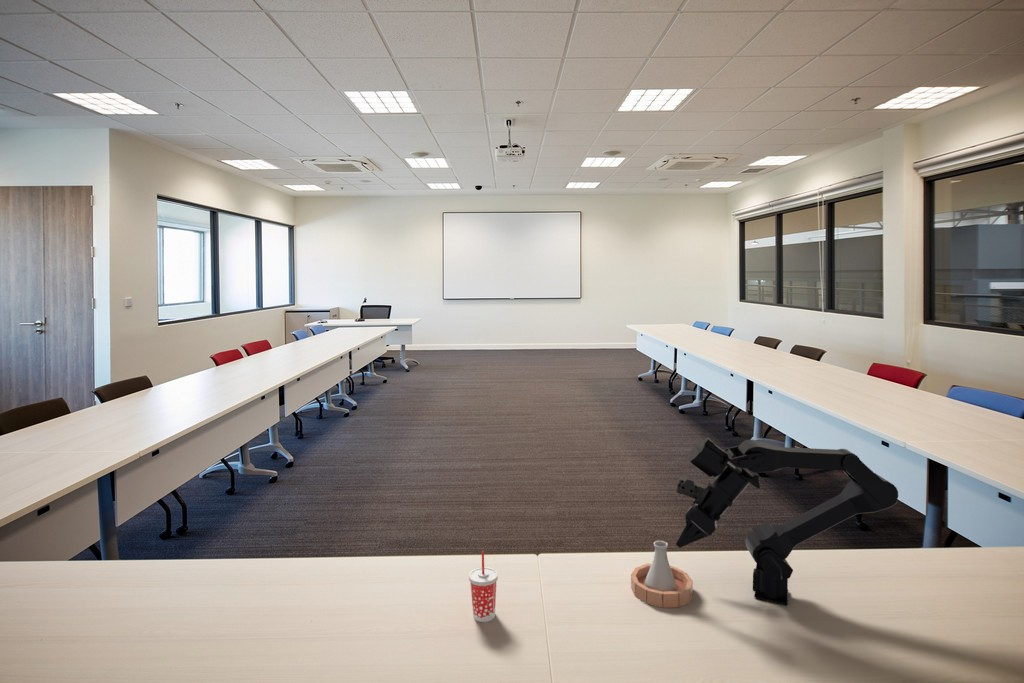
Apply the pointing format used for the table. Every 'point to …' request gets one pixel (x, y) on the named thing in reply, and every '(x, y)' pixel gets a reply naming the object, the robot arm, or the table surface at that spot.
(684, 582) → the bowl
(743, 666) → the table surface
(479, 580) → the beverage cup
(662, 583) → the flask
